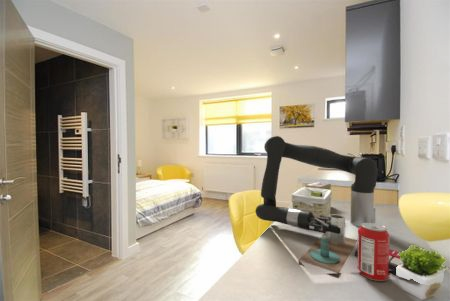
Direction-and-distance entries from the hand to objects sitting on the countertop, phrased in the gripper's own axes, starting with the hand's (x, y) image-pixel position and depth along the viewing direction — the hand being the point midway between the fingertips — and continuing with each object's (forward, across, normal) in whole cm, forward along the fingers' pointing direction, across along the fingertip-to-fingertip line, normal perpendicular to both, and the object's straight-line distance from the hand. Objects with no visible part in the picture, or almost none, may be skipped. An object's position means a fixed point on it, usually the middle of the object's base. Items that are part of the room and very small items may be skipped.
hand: (342, 228), depth 86 cm
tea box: (-25, +52, +8) cm, 58 cm away
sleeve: (-2, 0, +6) cm, 6 cm away
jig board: (-2, -8, +8) cm, 11 cm away
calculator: (+14, -4, +8) cm, 16 cm away
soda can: (+11, -14, +8) cm, 20 cm away
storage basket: (-20, +26, +8) cm, 34 cm away
